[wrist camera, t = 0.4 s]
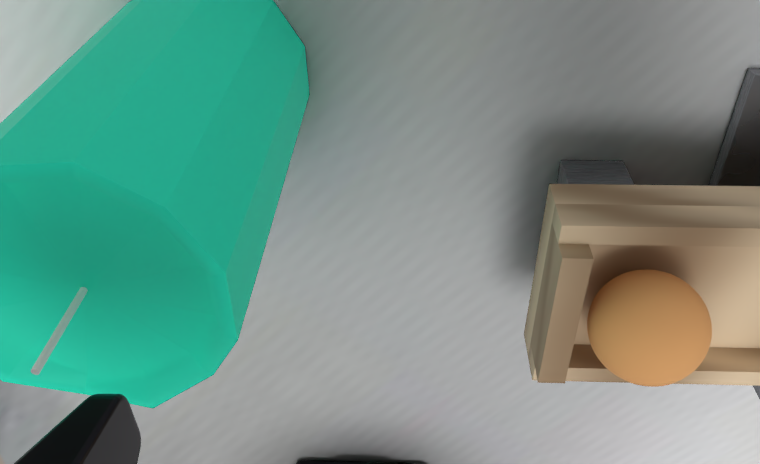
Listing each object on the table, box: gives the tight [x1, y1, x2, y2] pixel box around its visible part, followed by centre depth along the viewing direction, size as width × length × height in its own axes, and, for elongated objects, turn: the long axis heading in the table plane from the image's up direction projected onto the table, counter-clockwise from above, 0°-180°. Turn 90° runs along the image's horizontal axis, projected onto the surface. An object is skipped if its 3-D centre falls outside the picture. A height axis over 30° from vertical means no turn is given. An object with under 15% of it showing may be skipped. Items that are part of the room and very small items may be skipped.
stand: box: [557, 68, 760, 399], centre depth 21 cm, size 11×10×4 cm
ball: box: [587, 269, 712, 386], centre depth 18 cm, size 3×3×3 cm
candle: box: [0, 0, 310, 408], centre depth 16 cm, size 6×6×12 cm
